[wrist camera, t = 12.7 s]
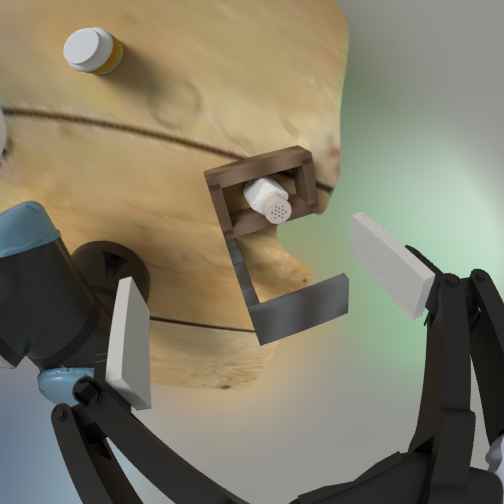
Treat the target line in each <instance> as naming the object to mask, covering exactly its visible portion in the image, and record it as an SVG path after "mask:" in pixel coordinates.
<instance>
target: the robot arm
mask: <svg viewBox="0 0 504 504" xmlns="http://www.w3.org/2000/svg"><path fill="white" fill-rule="evenodd" d="M60 236H61V234H60V232H59V230H57V229H56V228H55V226H54V224H53V223H52V221H51V219H50V218H49V216H48V214H47V212H46V211H45V209H44V207H43V206H42V205H41V204H40V203H38V202H36V201H26V202H23V203H20V204H18V205H16V206H13V207H11V208H9V209H7V210H6V211H4V212H2V213H0V368H6V369H15V368H16V367H17V366H18V364H19V363H20V362H21V360H22V359H23V358H24V357H25V356H27V357H28V358H29V359H30V360H31V361H32V362H33V363H34V364H35V365H36V366H37V367H38V368H39V370H40V373H39V374H38V376H37V380H38V386H39V390H40V392H41V393H42V394H43V396H44V397H46V398H47V399H48V400H49V401H51V402H53V403H54V404H56V405H57V406H55V407H54V409H53V411H52V414H51V421H52V425H53V428H54V432H55V435H56V438H57V441H58V444H59V447H60V450H61V453H62V456H63V459H64V461H65V464H66V466H67V469H68V471H69V474H70V476H71V479H72V481H73V483H74V486H75V488H76V490H77V492H78V494H79V497H80V499H81V501H82V503H83V504H143V502H142V501H141V499H140V498H139V496H138V495H137V493H136V492H135V490H134V488H133V487H132V485H131V484H130V482H129V480H128V479H127V477H126V475H125V474H124V472H123V470H122V468H121V467H120V465H119V463H118V461H117V459H116V458H115V456H114V454H113V452H112V450H111V448H110V446H109V444H108V442H107V440H106V438H107V437H109V439H110V440H111V441H112V442H113V443H114V444H115V445H116V447H117V448H118V449H119V450H120V451H121V452H122V453H123V454H124V456H125V457H126V458H127V459H128V460H129V461H130V462H131V463H132V464H133V465H134V466H135V467H136V468H137V469H138V470H139V471H140V472H141V473H142V474H143V475H144V476H145V477H146V478H147V479H148V480H149V481H150V482H151V483H152V484H154V485H155V486H156V487H157V488H158V489H159V490H160V491H161V492H162V493H164V494H165V495H166V496H167V497H168V498H169V499H171V500H172V501H173V502H174V503H176V504H250V503H248V502H245V501H244V500H242V499H241V498H239V497H237V496H235V495H234V494H232V493H231V492H229V491H228V490H226V489H225V488H223V487H221V486H220V485H218V484H217V483H215V482H214V481H213V480H211V479H210V478H208V477H207V476H205V475H204V474H203V473H201V472H200V471H198V470H197V469H196V468H194V467H193V466H192V465H191V464H189V463H188V462H187V461H185V460H184V459H183V458H182V457H180V456H179V455H178V454H177V453H175V452H174V451H173V450H172V449H171V448H169V447H168V446H167V445H166V444H165V443H163V442H162V441H161V440H160V439H159V438H158V437H157V436H156V435H154V434H153V433H152V432H151V431H150V430H149V429H148V428H147V427H146V426H145V425H144V424H143V423H142V422H141V421H140V420H138V419H137V418H136V417H135V416H134V415H133V414H132V413H131V406H132V407H134V408H135V409H136V410H144V409H150V408H151V392H150V362H149V325H150V310H149V309H148V307H147V305H146V303H147V301H148V298H149V291H150V278H149V274H148V271H147V269H146V267H145V265H144V263H143V262H142V261H141V259H140V258H139V257H138V256H137V255H136V254H135V253H133V252H132V251H131V250H129V249H128V248H126V247H124V246H122V245H120V244H117V243H113V242H109V241H93V242H89V243H86V244H84V245H82V246H80V247H79V248H77V249H76V250H75V251H74V252H73V253H72V255H70V253H69V252H68V250H67V248H66V246H65V244H64V242H63V240H62V239H61V237H60ZM350 253H351V254H352V255H353V256H354V257H355V258H356V259H357V260H358V261H359V262H360V263H361V264H362V265H363V266H364V268H365V269H366V270H367V271H368V272H369V273H370V274H371V275H372V276H373V277H374V278H375V280H376V281H377V282H378V283H379V284H380V285H381V286H382V287H383V288H384V290H385V291H386V292H387V293H388V294H389V295H390V296H391V298H392V299H393V300H394V301H395V302H396V303H397V304H398V306H399V307H400V308H401V309H402V310H403V311H404V313H405V314H406V315H407V316H408V317H409V318H410V320H411V321H412V320H414V319H416V318H418V317H420V316H422V314H423V311H424V308H425V307H426V308H427V309H428V311H429V312H428V315H427V317H426V320H425V322H424V326H425V325H426V323H427V344H426V346H427V347H426V360H425V372H424V382H423V390H422V397H421V404H420V410H419V417H418V422H417V427H416V431H415V434H414V436H413V438H412V440H411V443H410V446H409V449H408V452H406V453H401V454H400V452H399V451H398V452H396V453H394V454H392V455H391V456H389V457H387V458H385V459H383V460H381V461H380V462H378V463H376V464H375V465H373V466H372V467H371V468H370V469H368V470H367V471H366V472H364V473H363V474H362V475H360V476H359V477H358V478H357V479H355V480H354V481H352V482H347V483H342V484H337V485H331V486H324V487H322V488H319V489H316V490H313V491H310V492H308V493H305V494H302V495H298V498H297V499H295V500H293V501H292V502H290V503H289V504H503V491H504V303H503V301H502V299H501V297H500V295H499V293H498V291H497V289H496V287H495V285H494V283H493V281H492V279H491V277H490V276H489V274H488V273H487V272H485V271H484V270H481V269H474V270H473V271H471V274H470V277H468V278H462V279H460V278H459V277H458V276H456V275H454V274H451V273H445V274H444V273H443V272H441V271H440V270H439V269H438V268H437V267H436V266H434V264H433V263H431V262H430V261H429V260H427V258H426V257H424V256H423V255H422V254H421V253H420V252H419V251H418V250H416V249H415V248H413V247H411V246H408V245H406V246H403V245H401V243H399V242H398V241H397V240H396V239H395V238H393V237H392V236H391V235H390V234H389V233H387V232H386V231H385V230H384V229H382V228H381V227H380V226H379V225H378V224H376V223H375V222H374V221H372V220H371V219H370V218H369V217H367V216H366V215H365V214H363V213H362V212H359V213H356V214H352V215H351V241H350ZM479 308H480V310H479ZM470 355H471V358H472V362H473V366H474V370H475V374H476V379H477V383H478V387H479V393H480V398H481V403H482V408H483V415H484V422H485V428H486V434H487V438H488V441H489V445H490V449H489V452H488V453H487V454H486V457H485V460H486V462H487V463H489V468H488V471H486V470H482V469H478V468H474V467H470V462H471V456H472V449H473V441H474V433H475V421H476V416H475V413H474V412H472V411H471V410H470V395H471V358H470Z"/></svg>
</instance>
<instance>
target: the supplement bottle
mask: <svg viewBox="0 0 504 504" xmlns="http://www.w3.org/2000/svg"><path fill="white" fill-rule="evenodd" d="M123 54H124V49H123V46H122V44H121V42H120V41H119V40H118V39H116V38H115V37H114V36H112V35H111V34H110V33H109V32H107V31H106V30H104V29H102V28H98V27H94V28H85V29H80V30H78V31H76V32H75V33H73V34H72V35H71V36H70V37H69V38H68V40H67V41H66V43H65V46H64V57H65V59H66V60H67V61H68V62H69V64H70V66H71V67H72V68H73V69H75V70H77V71H80V72H86V73H91V74H97V75H102V74H106V73H109V72H111V71H113V70H114V69H115V68H116V67H117V66H118V65H119V64H120V62H121V60H122V58H123Z"/></svg>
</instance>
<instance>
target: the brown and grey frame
mask: <svg viewBox="0 0 504 504" xmlns="http://www.w3.org/2000/svg"><path fill="white" fill-rule="evenodd" d="M290 168H292V169H293V175H294V181H295V187H296V193H297V194H294V195H291V196H288V200H287V201H288V203H289V204H290V205H291V209H292V212H291V215H290V217H289V218H288V219H287V220H286V221H290V220H293V219H296V218H299V217H303V216H306V215H309V214H312V213H315V212H319V208H318V199H317V191H316V183H315V175H314V168H313V161H312V154H311V152H310V151H308V150H306V149H304V148H302V147H300V146H294V147H289V148H285V149H281V150H277V151H273V152H269V153H266V154H262V155H258V156H254V157H251V158H247V159H244V160H240V161H237V162H233V163H230V164H226V165H223V166H220V167H217V168H213V169H210V170H207V171H204V175H205V178H206V182H207V185H208V188H209V191H210V194H211V198H212V201H213V204H214V207H215V210H216V213H217V216H218V220H219V223H220V226H221V229H222V232H223V235H224V238H225V241H226V244H227V247H228V250H229V253H230V257H231V260H232V263H233V266H234V269H235V272H236V275H237V278H238V281H239V284H240V287H241V290H242V293H243V296H244V299H245V302H246V305H247V308H248V311H249V314H250V317H251V320H252V323H253V326H254V329H255V332H256V335H257V337H258V340H259V343H260V346H261V345H264V344H267V343H270V342H273V341H276V340H279V339H282V338H284V337H287V336H290V335H293V334H295V333H298V332H301V331H304V330H306V329H309V328H311V327H314V326H317V325H319V324H322V323H324V322H327V321H329V320H332V319H334V318H336V317H339V316H341V315H344V314H346V313H348V294H349V292H348V291H349V279H348V278H347V276H346V275H345V274H344V273H343V274H341V275H338V276H335V277H332V278H330V279H327V280H324V281H322V282H319V283H316V284H314V285H311V286H308V287H305V288H303V289H300V290H297V291H294V292H292V293H289V294H286V295H283V296H280V297H277V298H274V299H272V300H269V301H266V302H263V303H260V302H259V300H258V297H257V294H256V292H255V289H254V287H253V284H252V282H251V279H250V276H249V274H248V271H247V269H246V266H245V263H244V261H243V258H242V256H241V253H240V250H239V248H238V245H237V242H236V240H235V238H236V237H239V236H243V235H246V234H249V233H252V232H255V231H258V230H261V229H264V228H268V227H271V226H274V225H277V224H274V223H271V222H270V221H269V220H268V219H267V218H266V216H265V215H263V214H261V213H259V212H257V211H255V210H253V209H252V208H247V209H244V210H241V211H238V212H235V213H231V214H229V213H228V210H227V206H226V203H225V199H224V196H223V193H222V189H221V188H224V187H227V186H231V185H234V184H237V183H241V182H244V181H247V180H251V179H254V178H258V177H261V176H265V175H268V174H272V173H275V172H279V171H283V170H287V169H290ZM286 221H285V222H286Z"/></svg>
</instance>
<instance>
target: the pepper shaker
mask: <svg viewBox="0 0 504 504" xmlns="http://www.w3.org/2000/svg"><path fill="white" fill-rule="evenodd" d="M242 193H243V195H244V196H245V198H246V200H247V201H248V203H249V205H250V206H251V208H252V209H253V210H255V211H257V212H259V213H261V214H263V215H265V216H266V218H267V219H268V220H269V221H270V222H271V223H274V224H281V223H283V222H285V221H286V220H287V219H288V218H289V217H290V215H291V212H292V209H291V205H290V204H289V203H288V201H287V200H288V193H287V192H286V191H285V190H284V189H283V188H282V187H281V186H280V185H279V184H278V183H277V182H276V181H275V180H274V179H272V178H270V177H268V176H267V175H265V176H261V177H258V178H254V179H251V180H248V181H247V183H246V185H245V187H244V188H243V191H242Z"/></svg>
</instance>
